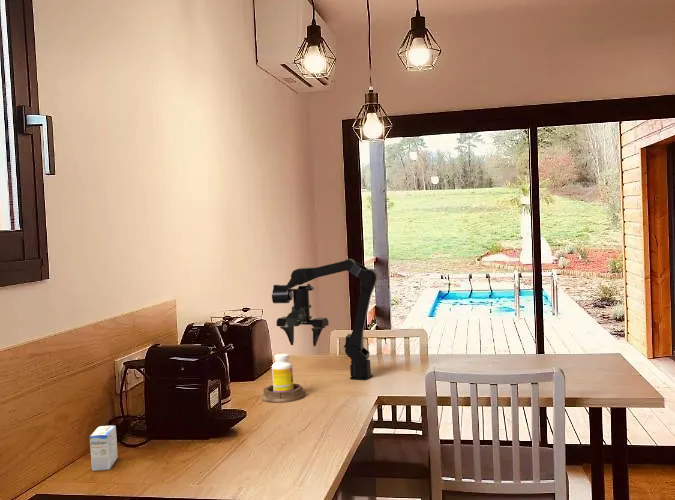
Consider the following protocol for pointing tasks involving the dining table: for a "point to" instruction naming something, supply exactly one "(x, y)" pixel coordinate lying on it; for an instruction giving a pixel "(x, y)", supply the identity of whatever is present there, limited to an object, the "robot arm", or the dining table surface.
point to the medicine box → (103, 448)
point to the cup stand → (283, 394)
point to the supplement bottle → (282, 374)
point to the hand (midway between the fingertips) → (303, 345)
